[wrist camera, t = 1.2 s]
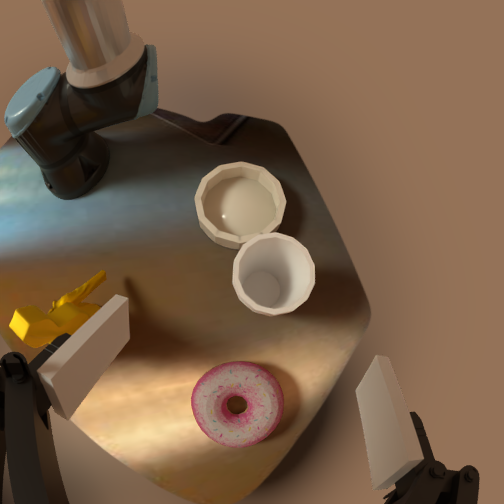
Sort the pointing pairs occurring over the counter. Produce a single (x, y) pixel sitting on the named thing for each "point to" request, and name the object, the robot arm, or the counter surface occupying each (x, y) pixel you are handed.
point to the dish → (239, 204)
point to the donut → (247, 386)
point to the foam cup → (273, 274)
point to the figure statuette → (56, 315)
